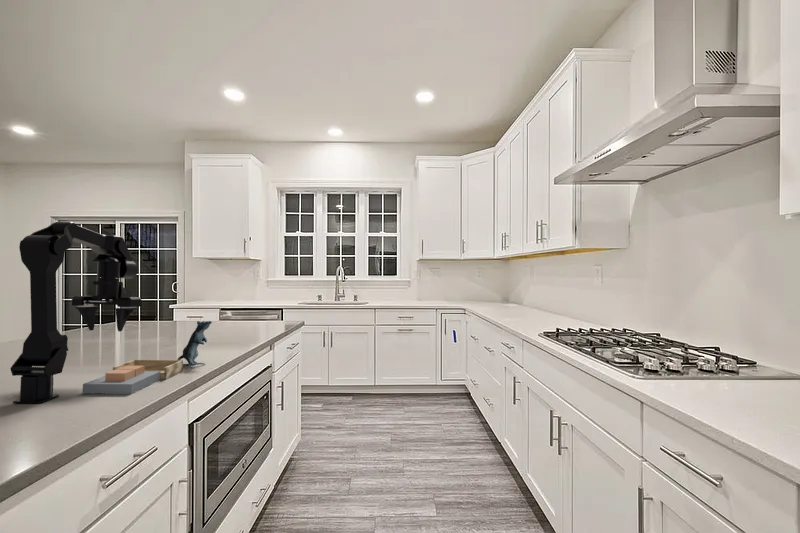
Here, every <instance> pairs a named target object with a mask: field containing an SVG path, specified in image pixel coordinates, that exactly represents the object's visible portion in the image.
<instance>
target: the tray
mask: <svg viewBox="0 0 800 533" xmlns="http://www.w3.org/2000/svg"><path fill="white" fill-rule="evenodd" d="M183 364H184V360H183V359H181V360H177V359H133V360H129V361H126V362H124V363H121V364H119V365H116V366H113V367H112V371H113V370H116V369H119V368H121V367H124V366H145V371H160V380H161V381H163V380H164V381H166V380H168V379H170V378H172V377H173V376H174V377H175V376H176V375H178V374H180V373H182V372H183V366H184V365H183ZM160 380H159V381H160Z"/></svg>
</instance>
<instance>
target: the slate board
mask: <svg viewBox="0 0 800 533" xmlns="http://www.w3.org/2000/svg"><path fill="white" fill-rule="evenodd" d="M159 381H160V371H144V373H143V374H140V375H138V376H136V377H133V378H131V379H129V380H126V381H105V375H103V376H101V377H98V378H95V379H93V380H90V381H88V382H84V383H82V394H83V395H88V394H87V393H92V394H91V395H94V394H93V393H101V394H100V395H133V394H134V393H137V392H139V391H141V390H142V389H144V388H146V387H149V386H150V385H152V384H155V383H156V382H159ZM85 393H86V394H85ZM102 393H103V394H102ZM104 393H105V394H104Z"/></svg>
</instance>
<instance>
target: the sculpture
mask: <svg viewBox="0 0 800 533" xmlns="http://www.w3.org/2000/svg"><path fill="white" fill-rule="evenodd" d="M196 324H197V325H196V328H195V330H194V331H193V332H192V333H191V335H190V337H189V340H188V342H187V344H186V346H185V347H184V348H183V349H182V354H181V355H179V357H178V358H176V360H183V359H185V360H186V361H187V363H183V366H184V367H189V366H196V365H205V364H206V363H205V362H198V361H195V360H196V359H197V358H198V356H199V350H198V346H200V345H205V343H208V339H207V338H206V336H205V334H204V332H205V330H207V329H209V327H210V325H212V324H213V322H212V321H211V320H208V321H205V320H203V321H202V322H201V321H199V320H197V322H196Z"/></svg>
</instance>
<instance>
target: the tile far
mask: <svg viewBox="0 0 800 533" xmlns="http://www.w3.org/2000/svg"><path fill="white" fill-rule="evenodd" d="M117 370H135V377H136V376H138V375H140V374H143V373H144V371H145V366H124V367H121V368H119V369H117Z"/></svg>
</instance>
